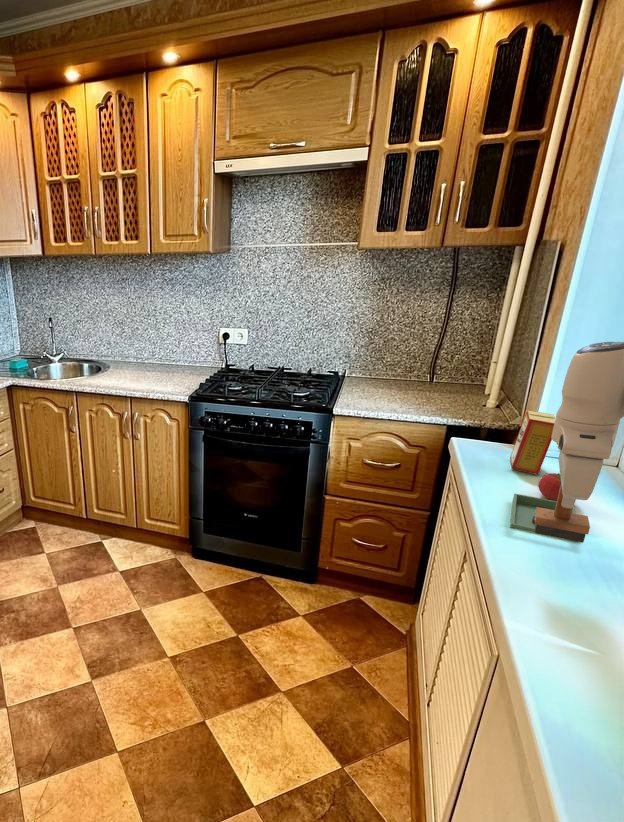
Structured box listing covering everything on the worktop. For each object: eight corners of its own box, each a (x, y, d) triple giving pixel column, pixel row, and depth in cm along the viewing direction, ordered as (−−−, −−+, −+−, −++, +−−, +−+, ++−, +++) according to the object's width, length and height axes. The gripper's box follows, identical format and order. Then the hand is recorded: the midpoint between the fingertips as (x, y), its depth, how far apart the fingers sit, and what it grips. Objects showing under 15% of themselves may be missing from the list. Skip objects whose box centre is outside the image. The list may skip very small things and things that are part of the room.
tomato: (531, 497, 137) (542, 471, 134) (536, 487, 142) (546, 462, 139) (569, 509, 132) (580, 482, 129) (572, 498, 137) (584, 472, 134)
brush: (532, 533, 102) (544, 483, 98) (532, 522, 106) (543, 474, 102) (585, 544, 98) (599, 492, 94) (583, 532, 101) (596, 482, 98)
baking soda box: (538, 474, 151) (558, 423, 145) (511, 468, 154) (530, 417, 148) (535, 463, 159) (554, 413, 152) (509, 457, 162) (527, 408, 155)
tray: (511, 503, 135) (514, 493, 134) (571, 514, 128) (574, 504, 127) (508, 534, 120) (511, 523, 119) (576, 549, 114) (579, 538, 113)
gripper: (559, 415, 104) (544, 479, 109) (564, 447, 89) (546, 520, 93) (600, 419, 101) (583, 485, 106) (612, 453, 85) (592, 529, 90)
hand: (566, 502), depth 99 cm, fingers closed on brush, 2 cm apart
